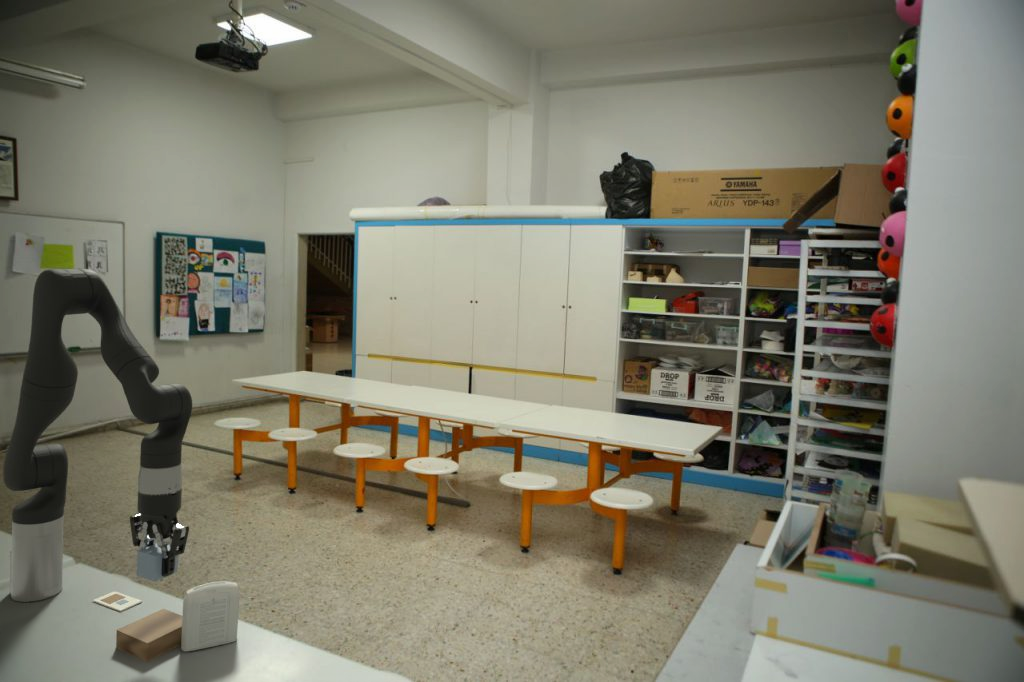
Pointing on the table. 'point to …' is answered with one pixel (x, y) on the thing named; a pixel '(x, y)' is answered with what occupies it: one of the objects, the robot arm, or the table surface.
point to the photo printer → (210, 615)
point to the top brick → (152, 563)
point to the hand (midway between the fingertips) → (157, 571)
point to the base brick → (151, 635)
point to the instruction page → (117, 601)
